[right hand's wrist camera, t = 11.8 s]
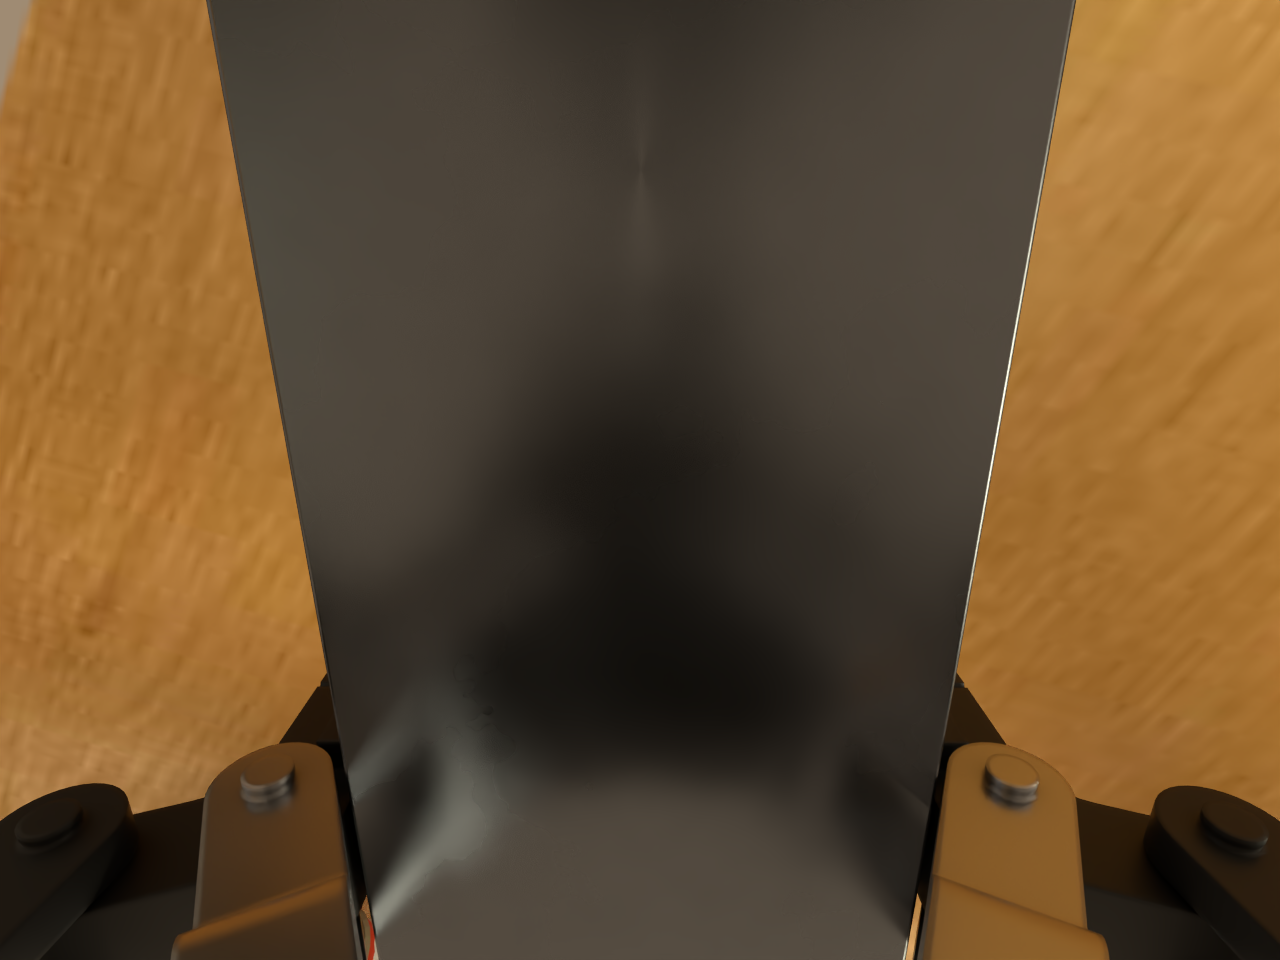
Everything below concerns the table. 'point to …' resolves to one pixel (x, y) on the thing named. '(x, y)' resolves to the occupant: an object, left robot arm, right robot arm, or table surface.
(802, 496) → the box
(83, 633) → the table surface
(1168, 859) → the right robot arm
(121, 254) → the table surface
